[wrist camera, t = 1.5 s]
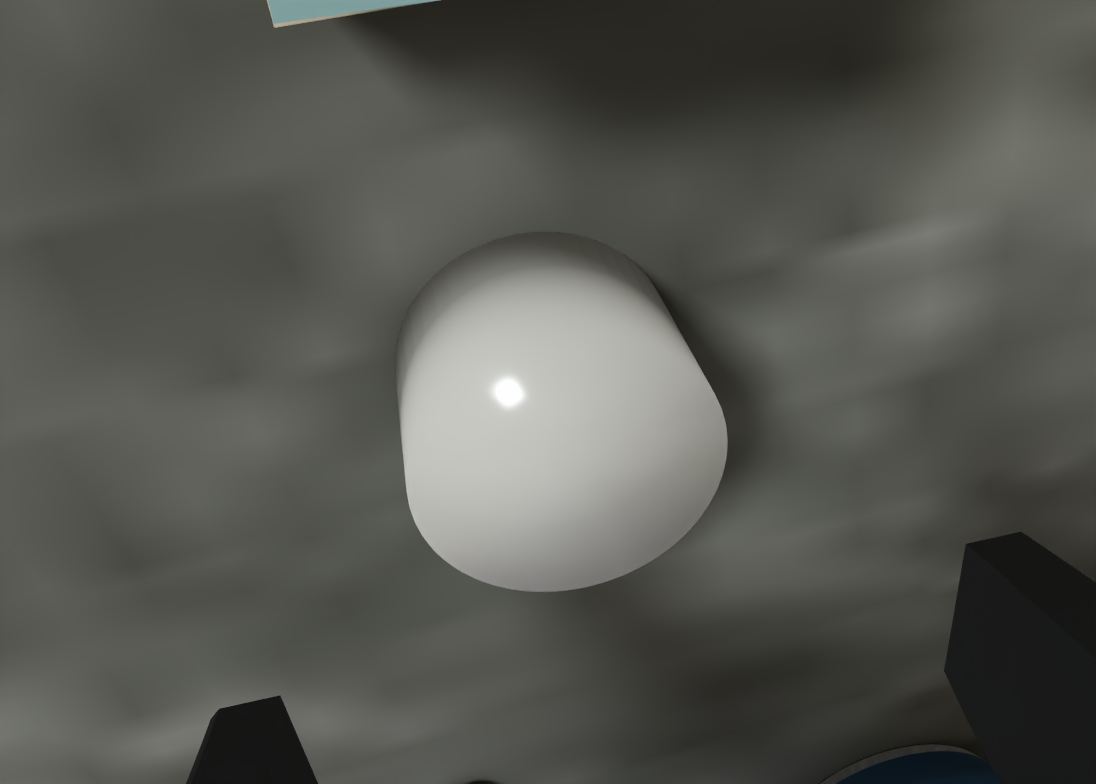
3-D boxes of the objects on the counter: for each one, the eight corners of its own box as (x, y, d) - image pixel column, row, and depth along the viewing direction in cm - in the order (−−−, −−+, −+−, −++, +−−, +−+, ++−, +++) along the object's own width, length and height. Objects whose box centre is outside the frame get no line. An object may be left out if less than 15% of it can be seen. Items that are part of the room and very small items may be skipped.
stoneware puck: (722, 318, 16) (792, 427, 14) (555, 502, 18) (592, 628, 15) (506, 174, 14) (542, 270, 12) (339, 395, 16) (341, 521, 13)
